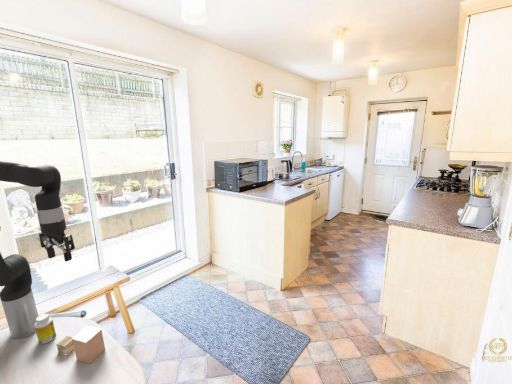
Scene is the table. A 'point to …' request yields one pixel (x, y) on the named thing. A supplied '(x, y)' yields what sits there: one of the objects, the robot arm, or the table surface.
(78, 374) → the table surface
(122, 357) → the table surface
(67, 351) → the beige block
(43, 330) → the supplement bottle
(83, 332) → the salmon orange block
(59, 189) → the robot arm
